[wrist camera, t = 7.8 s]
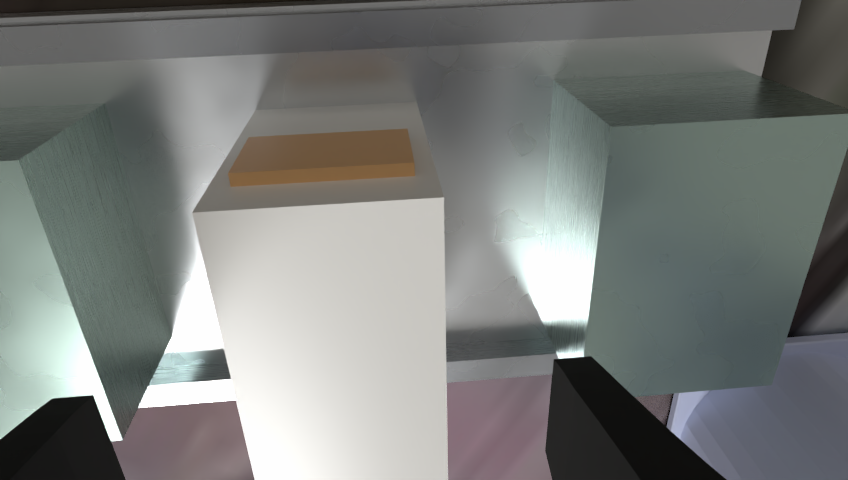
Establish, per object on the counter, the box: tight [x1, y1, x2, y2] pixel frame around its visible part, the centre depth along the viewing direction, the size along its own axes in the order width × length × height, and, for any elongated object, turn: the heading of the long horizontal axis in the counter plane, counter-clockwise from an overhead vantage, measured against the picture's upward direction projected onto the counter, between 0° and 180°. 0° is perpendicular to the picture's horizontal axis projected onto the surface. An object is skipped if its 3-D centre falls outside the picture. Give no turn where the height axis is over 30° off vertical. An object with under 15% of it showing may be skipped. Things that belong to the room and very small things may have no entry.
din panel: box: [0, 0, 848, 441], centre depth 15 cm, size 22×11×5 cm, turn 92°
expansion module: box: [192, 102, 448, 480], centre depth 14 cm, size 4×7×6 cm, turn 2°
